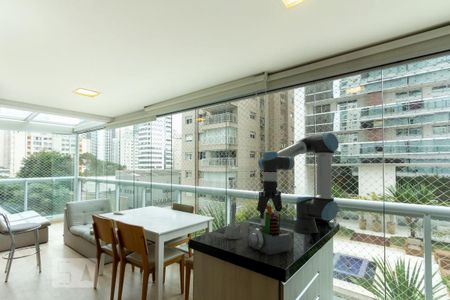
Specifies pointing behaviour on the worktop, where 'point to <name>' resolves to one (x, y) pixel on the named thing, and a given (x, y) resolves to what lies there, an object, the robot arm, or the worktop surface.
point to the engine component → (233, 225)
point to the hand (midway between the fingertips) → (269, 224)
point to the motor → (271, 223)
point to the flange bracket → (268, 241)
